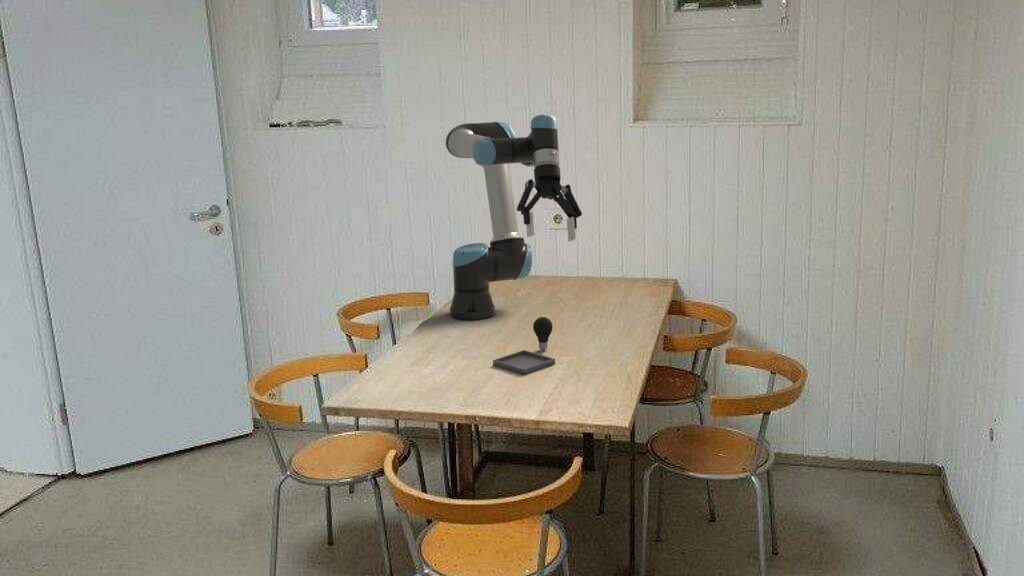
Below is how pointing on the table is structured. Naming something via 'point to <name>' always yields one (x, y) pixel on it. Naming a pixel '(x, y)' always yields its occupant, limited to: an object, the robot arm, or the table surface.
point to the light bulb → (542, 331)
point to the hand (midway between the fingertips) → (551, 238)
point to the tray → (524, 362)
